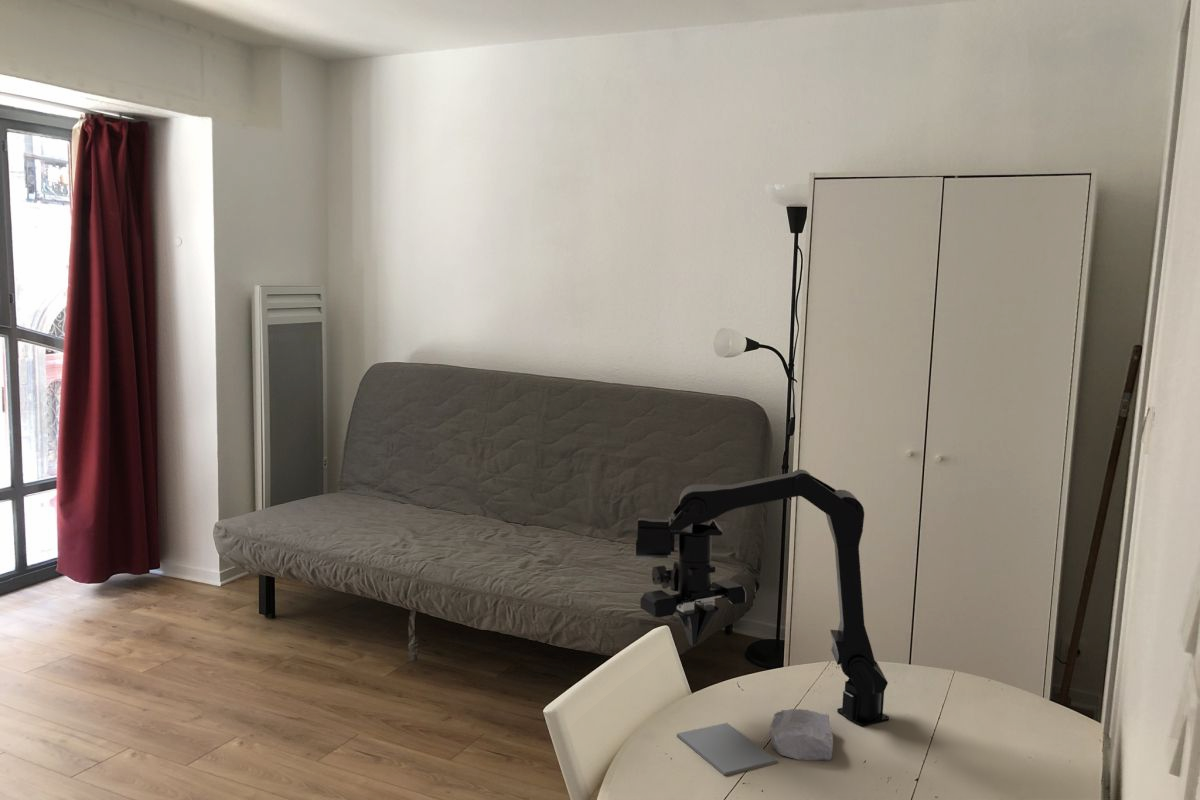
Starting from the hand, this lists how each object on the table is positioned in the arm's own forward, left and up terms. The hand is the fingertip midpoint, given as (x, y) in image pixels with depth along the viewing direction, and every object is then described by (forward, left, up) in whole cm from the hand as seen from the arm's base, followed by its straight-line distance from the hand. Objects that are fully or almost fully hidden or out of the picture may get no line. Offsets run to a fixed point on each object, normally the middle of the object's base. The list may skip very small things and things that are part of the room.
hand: (693, 644), depth 167 cm
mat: (+3, +16, -11) cm, 20 cm away
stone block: (-5, +16, -11) cm, 20 cm away
